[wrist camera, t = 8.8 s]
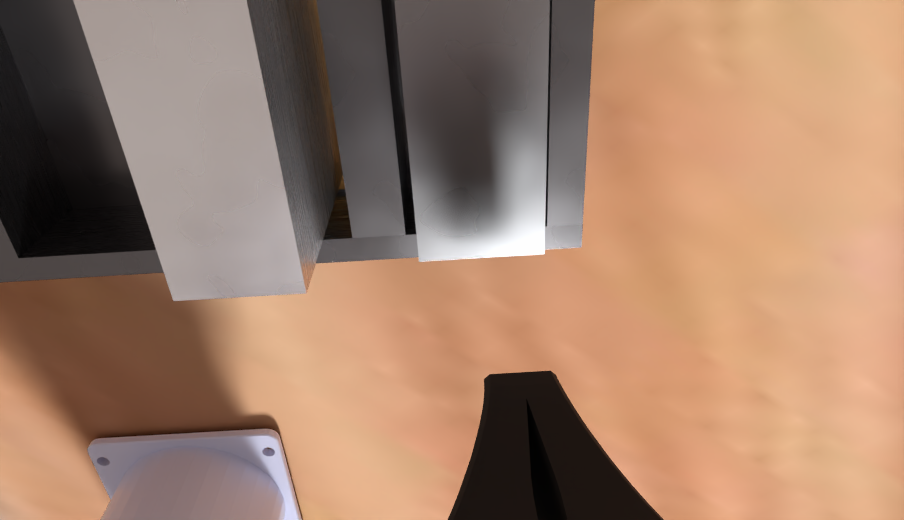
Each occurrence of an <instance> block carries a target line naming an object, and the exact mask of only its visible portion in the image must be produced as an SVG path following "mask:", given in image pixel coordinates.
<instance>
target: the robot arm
mask: <svg viewBox="0 0 904 520" xmlns="http://www.w3.org/2000/svg"><path fill="white" fill-rule="evenodd" d="M484 389H485V391H484V403H483V410H482V415H481V420H480V425H479V429H478V433H477V437H476V441H475V445H474V449H473V452H472V456H471V459H470V462H469V465H468V468H467V471H466V474H465V477H464V480H463V482H462V485H461V488H460V491H459V494H458V496H457V499H456V501H455V504H454V506H453V509H452V511H451V514H450V516H449V518H448V520H664V519H663V518H662V517H661V516H660V515H659V514H658V513H657V512H656V511H655V510H654V509H653V508H652V507H651V506H650V505H649V504H648V503H647V502H646V500H645V499H644V498H643V497H642V496H641V495H640V494H639V493H638V491H637V490H636V489H635V488H634V487H633V486H632V485H631V483H630V482H629V481H628V480H627V479H626V477H625V476H624V475H623V474H622V473H621V471H620V470H619V469H618V468H617V466H616V465H615V464H614V463H613V461H612V460H611V459H610V458H609V456H608V455H607V454H606V452H605V451H604V450H603V448H602V447H601V446H600V444H599V443H598V441H597V440H596V439H595V437H594V436H593V435H592V433H591V432H590V431H589V429H588V428H587V426H586V425H585V423H584V422H583V420H582V419H581V417H580V416H579V414H578V413H577V411H576V410H575V408H574V406H573V405H572V403H571V402H570V400H569V398H568V397H567V395H566V393H565V392H564V390H563V388H562V386H561V384H560V383H559V381H558V379H557V377H556V375H555V374H554V373H553V372H551V371H538V372H521V373H504V374H490V375H488V376H487V377H486V378H485V379H484ZM267 447H268V448H272V449H268V448H267ZM87 450H88V454H89V456H90V458H91V460H92V462H93V464H94V466H95V468H96V470H97V473H98V475H99V477H100V479H101V481H102V483H103V485H104V487H105V489H106V491H107V493H108V495H109V497H110V499H111V500H110V502H109V504H108V506H107V508H106V510H105V512H104V514H103V516H102V518H101V520H302V518H301V515H300V511H299V507H298V503H297V499H296V496H295V492H294V488H293V484H292V481H291V477H290V473H289V469H288V466H287V462H286V458H285V454H284V451H283V447H282V443H281V439H280V436H279V434H278V433H277V432H276V431H274V430H272V429H250V430H233V431H216V432H198V433H181V434H164V435H147V436H130V437H112V438H98V439H94V440H93V441H92V442H91V444H90V445H89V447H88V449H87Z"/></svg>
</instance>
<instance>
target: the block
mask: <svg viewBox="0 0 904 520" xmlns="http://www.w3.org/2000/svg"><path fill="white" fill-rule="evenodd" d="M73 1H74V4H75V7H76V10H77V13H78V16H79V19H80V22H81V25H82V28H83V31H84V34H85V37H86V40H87V43H88V46H89V49H90V52H91V55H92V58H93V61H94V64H95V67H96V70H97V73H98V76H99V79H100V82H101V85H102V88H103V91H104V94H105V97H106V100H107V103H108V106H109V109H110V112H111V115H112V118H113V121H114V124H115V127H116V130H117V133H118V136H119V139H120V142H121V145H122V148H123V151H124V154H125V157H126V160H127V163H128V166H129V169H130V172H131V175H132V178H133V181H134V184H135V187H136V190H137V193H138V196H139V199H140V202H141V205H142V208H143V211H144V214H145V217H146V220H147V223H148V226H149V229H150V232H151V235H152V238H153V241H154V244H155V247H156V250H157V253H158V256H159V259H160V263H161V266H162V269H163V272H164V275H165V278H166V281H167V284H168V287H169V290H170V293H171V296H172V299H173V301H185V300H201V299H218V298H235V297H252V296H268V295H285V294H302V293H307V290H308V286H309V283H310V280H311V277H312V273H313V270H314V267H315V264H316V261H317V257H318V254H319V251H320V248H321V244H322V241H323V238H324V235H325V231H326V228H327V225H328V222H329V218H330V215H331V212H332V209H333V206H334V202H335V199H336V196H337V193H338V189H339V186H340V183H341V180H342V176H343V172H342V166H341V159H340V153H339V146H338V140H337V133H336V126H335V120H334V113H333V107H332V100H331V94H330V87H329V81H328V74H327V68H326V61H325V54H324V48H323V41H322V35H321V28H320V22H319V15H318V9H317V2H316V0H73Z"/></svg>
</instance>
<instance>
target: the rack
mask: <svg viewBox="0 0 904 520" xmlns="http://www.w3.org/2000/svg"><path fill="white" fill-rule="evenodd" d="M316 2H317V9H318V15H319V22H320V28H321V35H322V41H323V48H324V54H325V61H326V68H327V74H328V81H329V87H330V94H331V100H332V107H333V113H334V120H335V126H336V133H337V140H338V146H339V153H340V159H341V166H342V172H343V176H342V180H341V183H340V186H339V189H338V193H337V196H336V199H335V202H334V206H333V209H332V212H331V215H330V218H329V222H328V225H327V228H326V231H325V235H324V238H323V241H322V244H321V248H320V251H319V254H318V257H317V261H316V263H330V262H347V261H364V260H380V259H397V258H414V257H419V262H423V261H439V260H456V259H473V258H489V257H506V256H523V255H539V254H545V250H547V249H563V248H580V247H581V246H582V228H583V209H584V191H585V172H586V153H587V135H588V116H589V97H590V79H591V60H592V42H593V23H594V4H595V0H316ZM147 273H164V272H163V269H162V266H161V263H160V259H159V256H158V253H157V250H156V247H155V244H154V241H153V238H152V235H151V232H150V229H149V226H148V223H147V220H146V217H145V214H144V211H143V208H142V205H141V202H140V199H139V196H138V193H137V190H136V187H135V184H134V181H133V178H132V175H131V172H130V169H129V166H128V163H127V160H126V157H125V154H124V151H123V148H122V145H121V142H120V139H119V136H118V133H117V130H116V127H115V124H114V121H113V118H112V115H111V112H110V109H109V106H108V103H107V100H106V97H105V94H104V91H103V88H102V85H101V82H100V79H99V76H98V73H97V70H96V67H95V64H94V61H93V58H92V55H91V52H90V49H89V46H88V43H87V40H86V37H85V34H84V31H83V28H82V25H81V22H80V19H79V16H78V13H77V10H76V7H75V4H74V1H73V0H0V282H14V281H31V280H47V279H64V278H81V277H97V276H114V275H131V274H147Z"/></svg>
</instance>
